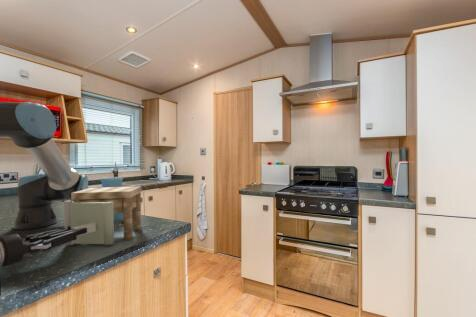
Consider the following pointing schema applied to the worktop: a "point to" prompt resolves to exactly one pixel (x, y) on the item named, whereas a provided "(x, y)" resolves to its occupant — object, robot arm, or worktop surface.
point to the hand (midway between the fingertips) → (94, 226)
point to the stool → (117, 203)
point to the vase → (113, 183)
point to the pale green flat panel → (90, 221)
